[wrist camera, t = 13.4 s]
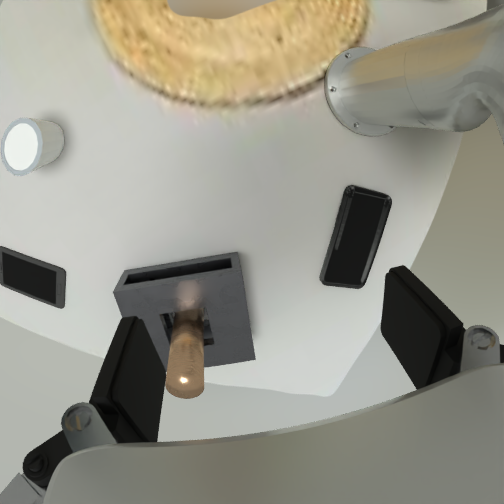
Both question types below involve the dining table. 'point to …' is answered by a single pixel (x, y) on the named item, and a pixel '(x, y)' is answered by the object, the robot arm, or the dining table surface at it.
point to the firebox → (192, 304)
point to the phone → (355, 237)
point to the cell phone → (32, 277)
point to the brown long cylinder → (186, 355)
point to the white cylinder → (30, 145)
